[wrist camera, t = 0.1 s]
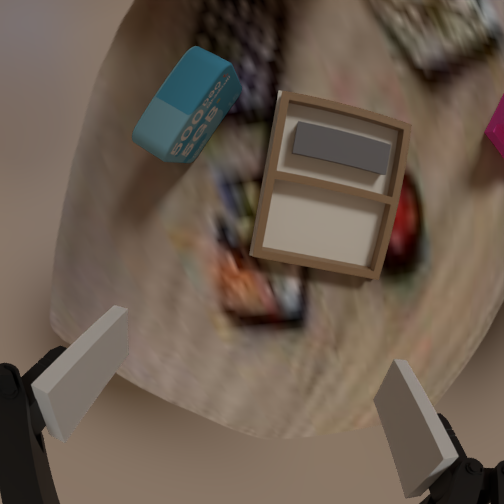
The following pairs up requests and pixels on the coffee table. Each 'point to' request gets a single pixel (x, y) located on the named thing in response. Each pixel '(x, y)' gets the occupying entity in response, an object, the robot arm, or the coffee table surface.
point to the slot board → (328, 192)
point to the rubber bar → (341, 147)
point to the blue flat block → (188, 107)
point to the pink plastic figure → (497, 128)
